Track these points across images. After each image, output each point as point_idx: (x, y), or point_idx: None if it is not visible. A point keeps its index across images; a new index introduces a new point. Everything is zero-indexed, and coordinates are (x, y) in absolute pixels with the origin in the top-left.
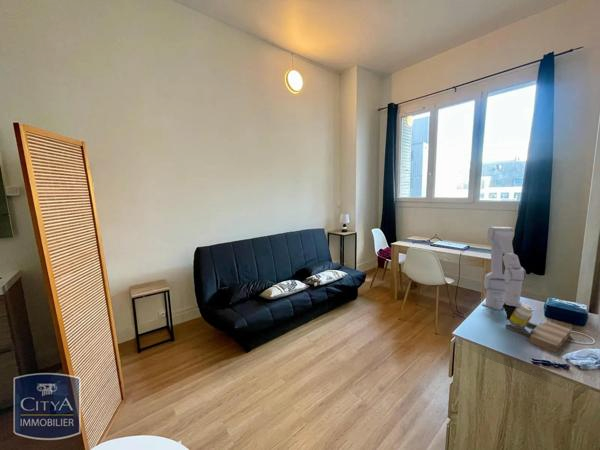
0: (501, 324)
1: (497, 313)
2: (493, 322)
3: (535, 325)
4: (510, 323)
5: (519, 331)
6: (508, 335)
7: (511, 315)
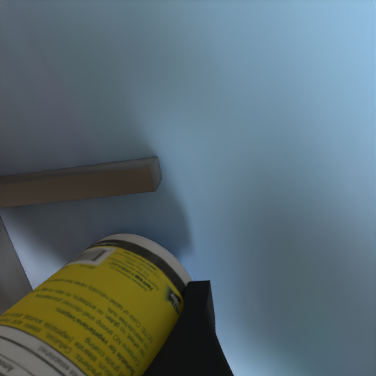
0: (220, 194)
1: (336, 354)
2: (285, 163)
3: None
4: (155, 243)
5: (42, 177)
6: (55, 18)
7: (152, 339)
